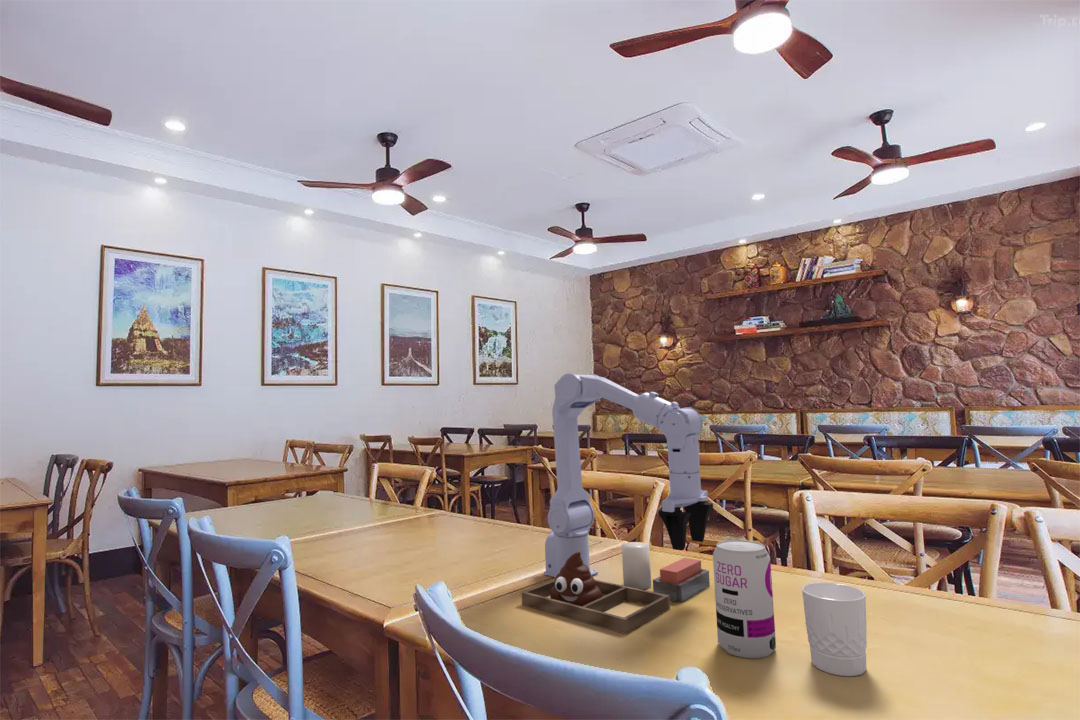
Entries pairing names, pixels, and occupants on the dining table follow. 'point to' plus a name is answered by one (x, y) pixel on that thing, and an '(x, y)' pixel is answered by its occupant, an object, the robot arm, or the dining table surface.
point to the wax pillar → (636, 565)
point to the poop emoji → (575, 583)
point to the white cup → (836, 627)
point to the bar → (680, 570)
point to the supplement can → (744, 598)
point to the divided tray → (601, 605)
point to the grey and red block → (683, 586)
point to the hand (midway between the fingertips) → (688, 545)
